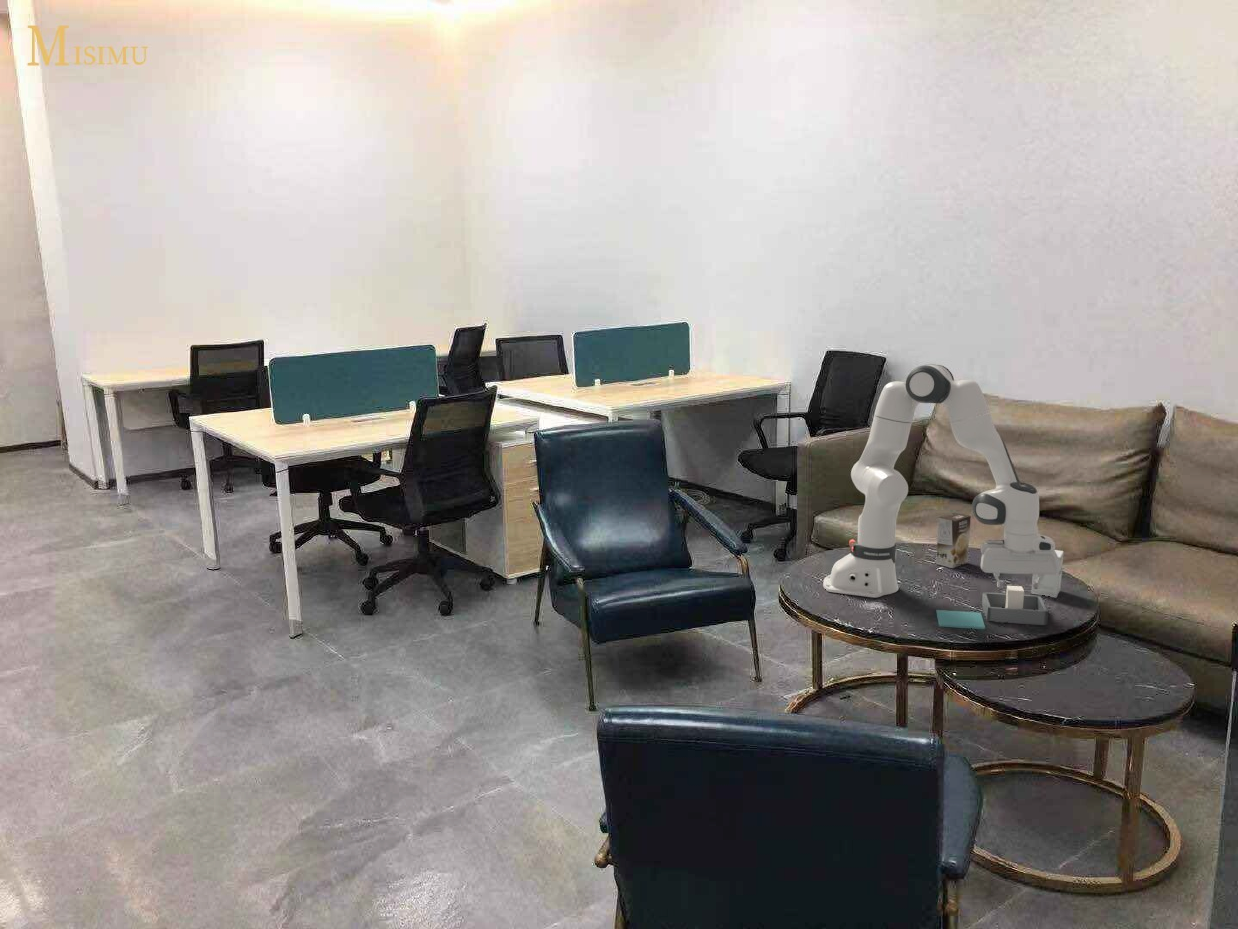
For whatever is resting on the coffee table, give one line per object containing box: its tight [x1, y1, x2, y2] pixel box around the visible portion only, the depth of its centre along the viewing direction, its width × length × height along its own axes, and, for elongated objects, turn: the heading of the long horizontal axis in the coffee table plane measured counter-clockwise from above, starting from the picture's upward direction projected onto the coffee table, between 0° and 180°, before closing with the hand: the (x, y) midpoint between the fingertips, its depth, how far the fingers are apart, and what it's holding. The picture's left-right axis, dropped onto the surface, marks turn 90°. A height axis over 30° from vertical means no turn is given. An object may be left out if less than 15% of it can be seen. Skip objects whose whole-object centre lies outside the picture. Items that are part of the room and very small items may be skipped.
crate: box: [981, 592, 1049, 626], centre depth 280 cm, size 16×13×4 cm
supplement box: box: [1030, 549, 1065, 599], centre depth 296 cm, size 7×7×13 cm
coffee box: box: [935, 512, 972, 569], centre depth 323 cm, size 9×6×16 cm
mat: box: [935, 609, 986, 630], centre depth 277 cm, size 12×11×1 cm
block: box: [1005, 585, 1025, 609], centre depth 279 cm, size 4×4×8 cm
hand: (1017, 587), depth 279 cm, fingers open, 8 cm apart
